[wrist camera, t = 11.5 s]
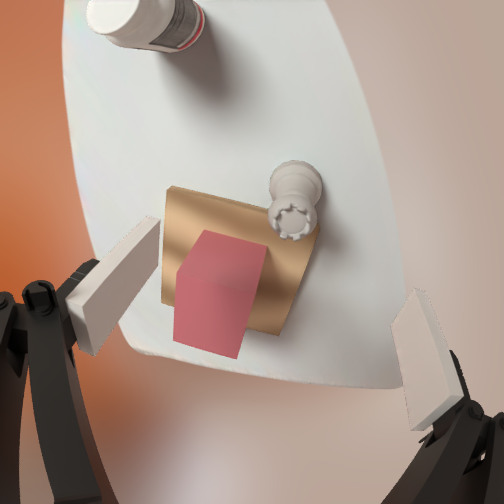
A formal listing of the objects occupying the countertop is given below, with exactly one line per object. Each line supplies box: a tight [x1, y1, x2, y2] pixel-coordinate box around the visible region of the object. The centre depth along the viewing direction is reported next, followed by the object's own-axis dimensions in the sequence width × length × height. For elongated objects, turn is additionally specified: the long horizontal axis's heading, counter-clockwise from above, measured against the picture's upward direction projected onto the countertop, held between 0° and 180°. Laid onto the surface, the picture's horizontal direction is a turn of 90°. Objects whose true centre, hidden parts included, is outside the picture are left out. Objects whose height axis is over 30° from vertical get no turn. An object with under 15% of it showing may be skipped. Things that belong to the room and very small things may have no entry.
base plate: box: [161, 186, 320, 336], centre depth 30 cm, size 14×14×1 cm
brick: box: [173, 229, 267, 359], centre depth 27 cm, size 8×6×7 cm
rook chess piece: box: [268, 160, 322, 242], centre depth 22 cm, size 4×4×8 cm
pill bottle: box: [86, 0, 205, 53], centre depth 15 cm, size 5×5×10 cm
